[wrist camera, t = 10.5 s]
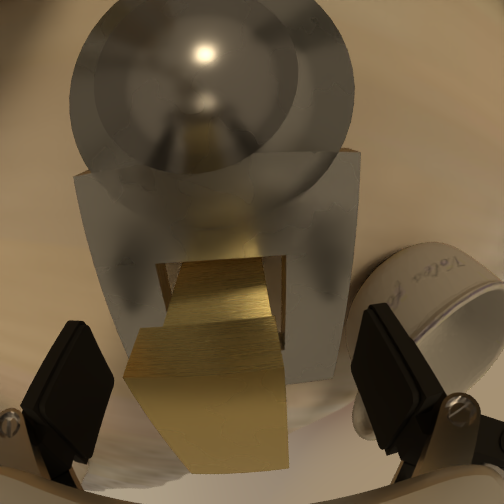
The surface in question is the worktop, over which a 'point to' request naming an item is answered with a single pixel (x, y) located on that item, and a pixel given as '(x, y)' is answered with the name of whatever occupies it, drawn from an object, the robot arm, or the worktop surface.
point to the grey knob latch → (220, 158)
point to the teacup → (436, 314)
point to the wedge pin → (215, 371)
